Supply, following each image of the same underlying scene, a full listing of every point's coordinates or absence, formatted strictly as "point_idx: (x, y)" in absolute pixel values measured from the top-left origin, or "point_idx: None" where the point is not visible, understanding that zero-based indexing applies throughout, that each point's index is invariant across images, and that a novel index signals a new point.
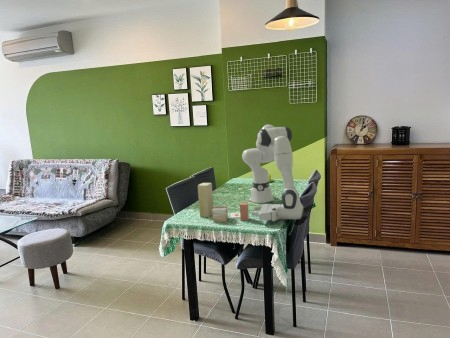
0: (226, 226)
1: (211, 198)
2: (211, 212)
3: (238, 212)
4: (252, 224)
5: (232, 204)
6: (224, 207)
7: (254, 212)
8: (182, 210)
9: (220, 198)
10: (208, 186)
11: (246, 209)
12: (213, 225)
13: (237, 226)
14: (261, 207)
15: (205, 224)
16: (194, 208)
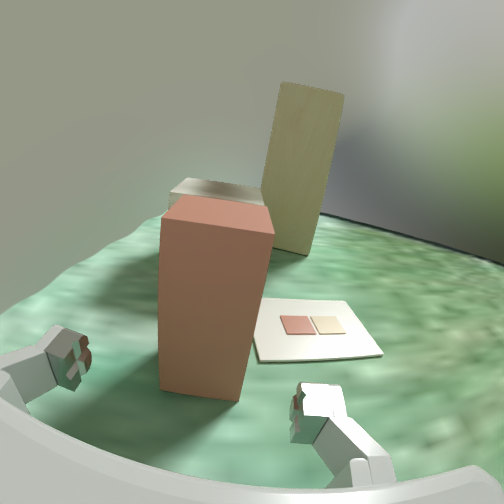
0: (84, 271)
1: (312, 167)
2: (284, 235)
3: (365, 333)
4: (34, 400)
5: (466, 307)
6: (217, 195)
7: (37, 343)
8: (320, 216)
9: (484, 279)
10: (299, 93)
11: (160, 277)
12: (128, 243)
13: (51, 308)
14: (347, 484)
15: (153, 230)
16: (351, 231)
